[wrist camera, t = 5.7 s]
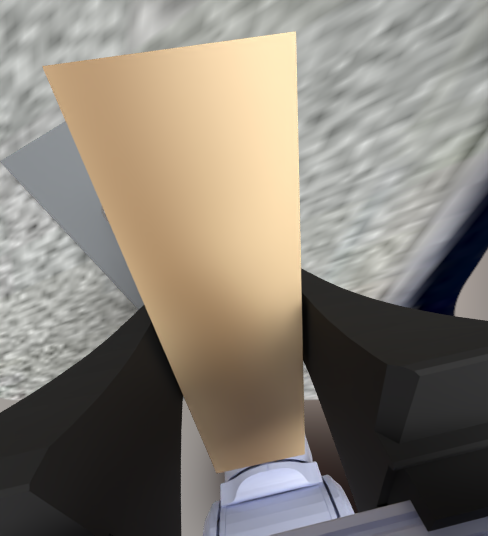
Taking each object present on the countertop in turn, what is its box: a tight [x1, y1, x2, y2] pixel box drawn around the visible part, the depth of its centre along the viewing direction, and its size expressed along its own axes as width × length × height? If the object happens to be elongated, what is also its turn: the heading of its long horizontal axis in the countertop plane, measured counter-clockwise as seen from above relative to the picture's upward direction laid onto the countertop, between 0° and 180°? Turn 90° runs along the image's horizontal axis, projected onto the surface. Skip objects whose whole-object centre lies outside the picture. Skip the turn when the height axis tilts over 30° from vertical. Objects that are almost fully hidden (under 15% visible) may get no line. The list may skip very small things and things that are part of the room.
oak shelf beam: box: [42, 32, 305, 473], centre depth 9 cm, size 4×14×5 cm, turn 8°
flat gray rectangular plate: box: [0, 121, 144, 309], centre depth 17 cm, size 20×11×3 cm, turn 25°
